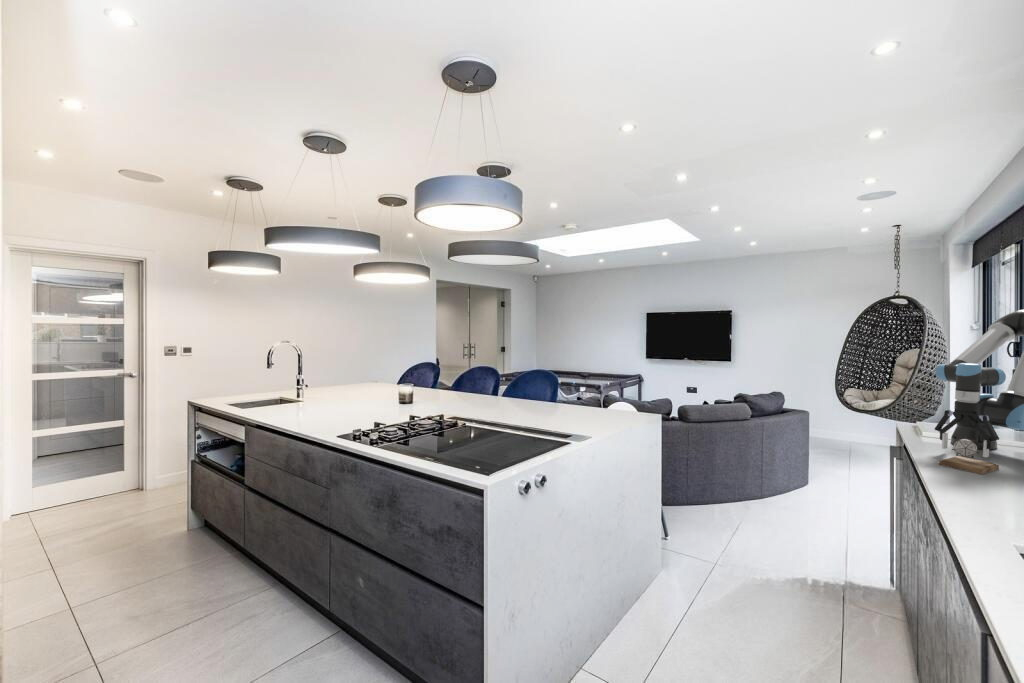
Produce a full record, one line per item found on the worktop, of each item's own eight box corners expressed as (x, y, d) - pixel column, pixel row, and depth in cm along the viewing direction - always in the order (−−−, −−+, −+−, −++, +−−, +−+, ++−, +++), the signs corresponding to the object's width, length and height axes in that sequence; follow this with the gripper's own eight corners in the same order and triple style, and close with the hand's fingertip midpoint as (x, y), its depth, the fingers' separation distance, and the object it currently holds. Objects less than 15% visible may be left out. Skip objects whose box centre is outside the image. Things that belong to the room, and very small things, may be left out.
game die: (971, 467, 202) (990, 452, 196) (949, 459, 204) (967, 443, 198) (963, 451, 209) (981, 436, 203) (942, 444, 211) (959, 428, 205)
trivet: (956, 460, 200) (956, 455, 200) (998, 469, 188) (999, 464, 188) (939, 464, 195) (939, 459, 195) (981, 474, 183) (981, 469, 183)
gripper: (926, 397, 212) (923, 446, 213) (1002, 407, 189) (999, 461, 191) (935, 395, 215) (933, 444, 216) (1012, 405, 193) (1009, 459, 194)
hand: (964, 452), depth 204 cm, fingers open, 13 cm apart
